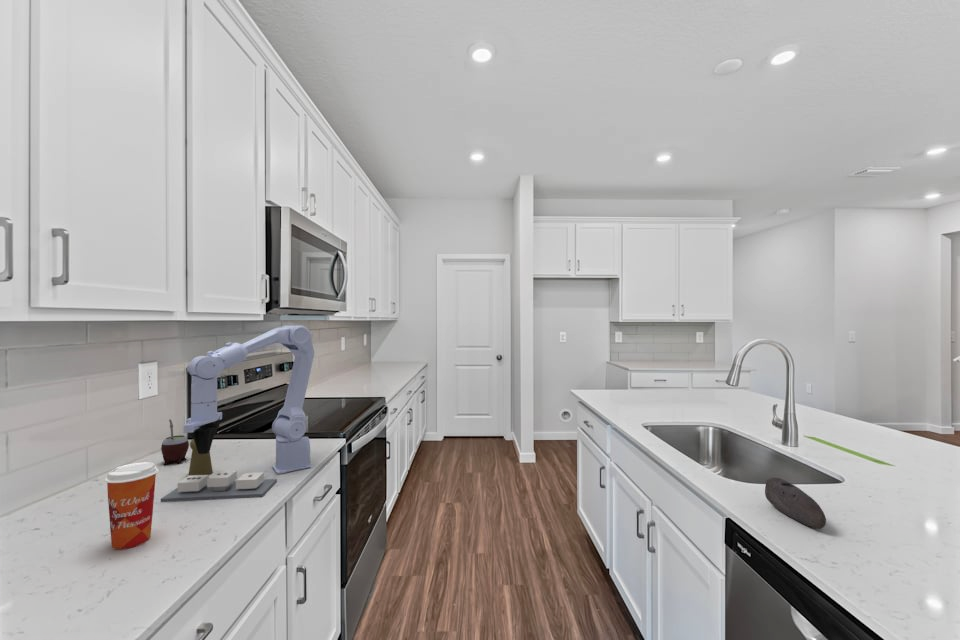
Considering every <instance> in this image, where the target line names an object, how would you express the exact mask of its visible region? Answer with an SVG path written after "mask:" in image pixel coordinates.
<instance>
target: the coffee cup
mask: <svg viewBox="0 0 960 640" xmlns="http://www.w3.org/2000/svg"><path fill="white" fill-rule="evenodd" d="M159 471H160V470H159V469H158V468H157V466H156V465H155V463H153V462H151V461H149V462H147V461H145V462H144V461H143V462H135V463H134V462H133V463H129V464H125V465H120V466H117V467H115V468H113V469H112V470H111V471H109V472H108V473H107V476H106V478H105V479H104V482H105V483H107V484H106V485H107V488H106V489H107V501H108V502H107V504H108V513H109V514H108V515H109V516H108V517H109V529H110V531H109V532H110V539H111V540H110V541H111V543H110V544H111V547H112V549H113V550H116V551H117V550H121V551H122V550H129V549H131V548H135V547H138V546H141V545H143V544H144V543H146V542H147V541H149V540H150V538H151V533H152V525H153V513H154V503H155V502H154V501H155V487H156V475H157V474H158V473H159Z"/></svg>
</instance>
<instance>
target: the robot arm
mask: <svg viewBox="0 0 960 640" xmlns="http://www.w3.org/2000/svg"><path fill="white" fill-rule="evenodd" d="M312 340H313V334H312V332H311V331H310V330H309V329H308V327H306V326H304V325H301V324H300V325H299V324H298V325H289V324H285V325H282V326H279V327H275V328H272V329H271V330H269V331H267V332H264V333H263V334H260V335H258V336H255V337H254V338H252V339H250V340H248V341H246V342H244V343H239V342H227V343H225V344H224V346H223V347H221V348H219V349H216V350H209V351H207V353H206V355H198V356H196V357H194V358H193V359H192V360H191V361H190V362H189V365H188V366H187V372H188V373H189V375H190V376H191V386H190V417H189V418H186V420H185V421H186V423H185V424H184V425H183V434H185V433H187V434H188V433H189V435H190V436H191V437H192V439H194V441H195V444H196V447H197V451H198V454H207V453H209V451H211V447H212V444H213V440H214V438H215V434H216V433H217V431H218V430H219V427H220V423H217V422H216V421H220V420H222V419H223V412H222V411H220V412H219V411H218V376H219V375H220V374H221V372H223V371H225V370H228V369H229V368H231V367H234V366H236V365H238V364H240V363H242V362H244V361H246V360H247V358H248V355H250V354H251V353H254V352H257V351H259V350H262V349H264V348H266V347H268V346H271V345H274V344H281V345H282V346H283V347H285V348H286V349H288V350H289V351H290V353H291V354H293V356H294V359H293V363H292V368H291V372H290V377H289V380H288V386H287V391H286V395H285V400H284V403H283V406H282V407H281V409H279V410H278V413H277V417H275V419H274V421H273V422H272V425H271V429H272V432H273V434H274V435H275V464H273V465H272V466H271V467H272V469H273V470H274V471H275V473H276V474H277V475H279V474H285V473H289V472H293V471H300V470H303V469H309V468H311V467H312V466H311V443H310V442H311V441H310V438H309V436H304V435H305V433H306V431H307V425H306V417H307V416H306V413H305V411H304V410H303V407H304V404H305V398H306V393H307V388H308V384H309V381H310V380H309V379H310V375H311V370H312V366H313V362H314V357H315V349H314V346H313V345H314V344H313V342H312ZM215 422H216V423H215Z"/></svg>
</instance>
